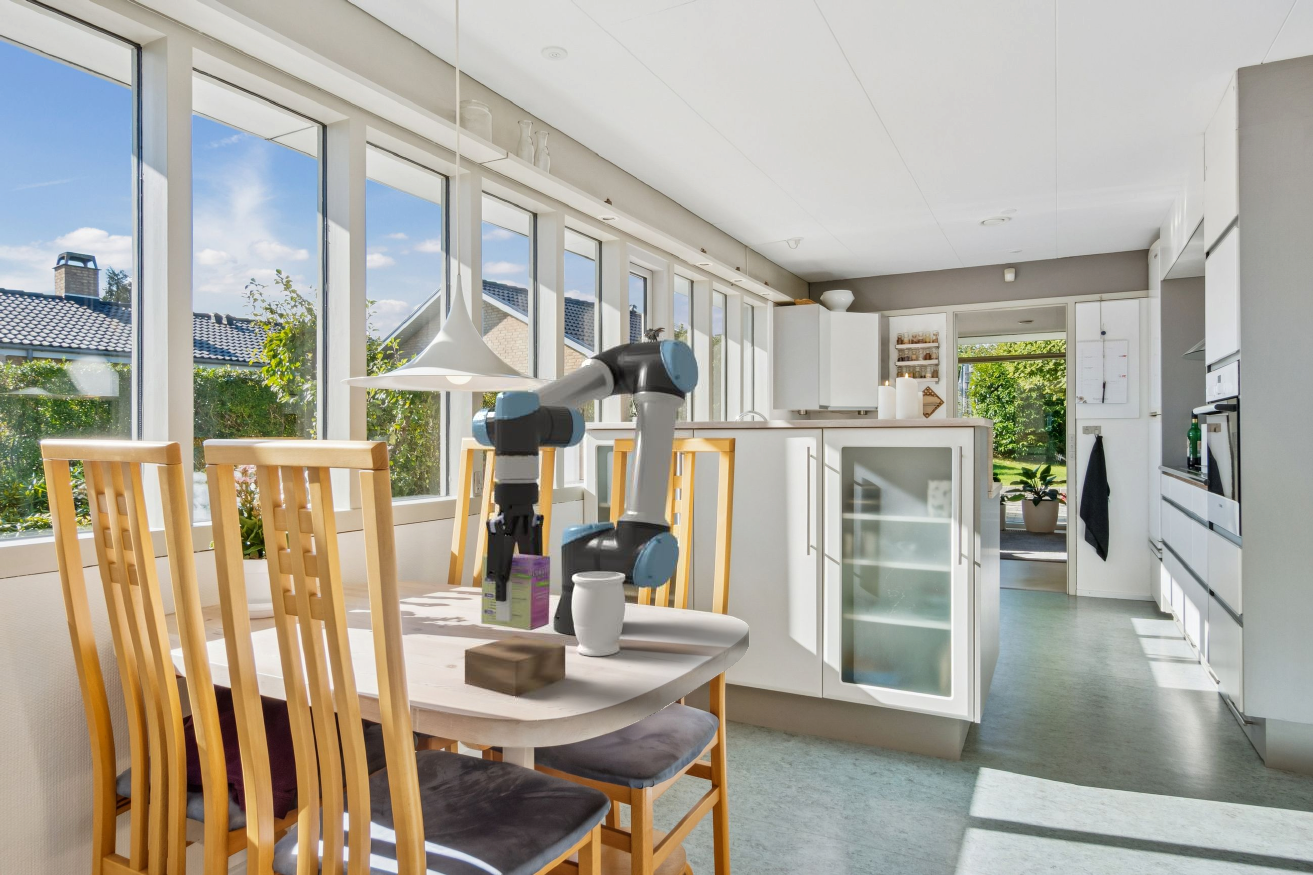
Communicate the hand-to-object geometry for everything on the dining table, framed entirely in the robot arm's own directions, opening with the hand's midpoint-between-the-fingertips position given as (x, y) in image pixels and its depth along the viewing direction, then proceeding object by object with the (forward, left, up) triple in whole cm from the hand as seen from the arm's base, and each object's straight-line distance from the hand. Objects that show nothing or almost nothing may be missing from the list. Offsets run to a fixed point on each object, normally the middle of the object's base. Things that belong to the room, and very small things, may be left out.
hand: (515, 616), depth 133 cm
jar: (-23, +3, -11) cm, 26 cm away
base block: (0, 0, -11) cm, 11 cm away
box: (0, 0, -2) cm, 2 cm away
